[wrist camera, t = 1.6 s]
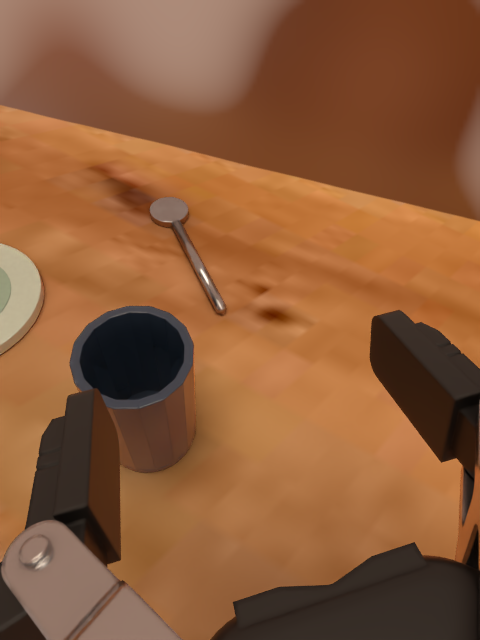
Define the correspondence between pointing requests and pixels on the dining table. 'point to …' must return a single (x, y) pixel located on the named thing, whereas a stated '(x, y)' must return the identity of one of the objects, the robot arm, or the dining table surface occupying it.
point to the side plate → (18, 295)
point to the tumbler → (141, 382)
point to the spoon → (185, 242)
